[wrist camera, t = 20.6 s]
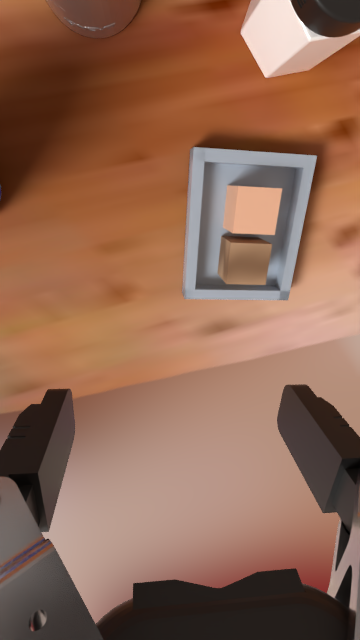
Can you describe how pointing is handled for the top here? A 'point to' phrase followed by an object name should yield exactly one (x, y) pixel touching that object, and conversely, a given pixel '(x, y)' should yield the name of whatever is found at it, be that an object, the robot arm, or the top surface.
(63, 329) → the top surface
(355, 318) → the top surface
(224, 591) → the robot arm
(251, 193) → the block terracotta
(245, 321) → the top surface
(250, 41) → the jar
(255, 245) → the block walnut
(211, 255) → the tray
